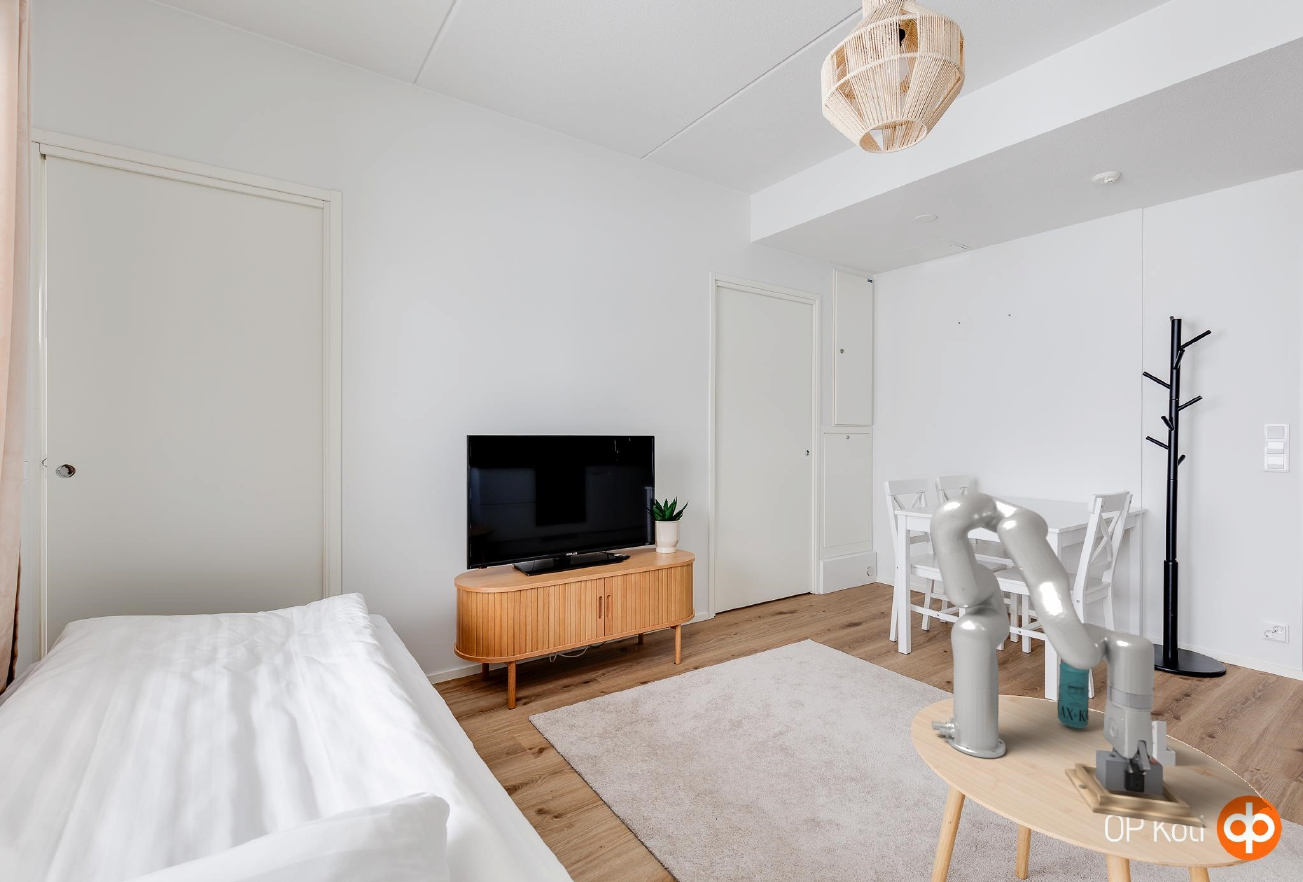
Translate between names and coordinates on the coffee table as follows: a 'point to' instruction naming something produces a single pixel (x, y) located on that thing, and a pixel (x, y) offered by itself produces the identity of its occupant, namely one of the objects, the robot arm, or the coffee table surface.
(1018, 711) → the coffee table surface
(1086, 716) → the beverage bottle
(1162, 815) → the wooden tray
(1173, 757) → the white wedge bracket
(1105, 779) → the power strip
